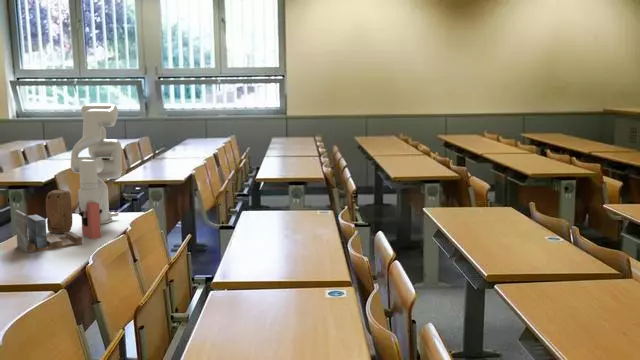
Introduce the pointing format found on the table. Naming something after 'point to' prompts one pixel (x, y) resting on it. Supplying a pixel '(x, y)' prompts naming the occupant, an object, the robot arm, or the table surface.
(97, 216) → the book
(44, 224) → the book stand
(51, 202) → the block
